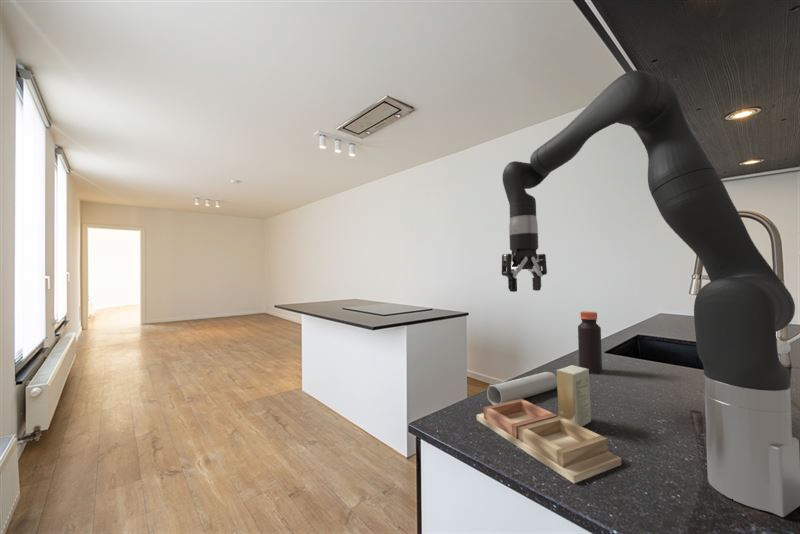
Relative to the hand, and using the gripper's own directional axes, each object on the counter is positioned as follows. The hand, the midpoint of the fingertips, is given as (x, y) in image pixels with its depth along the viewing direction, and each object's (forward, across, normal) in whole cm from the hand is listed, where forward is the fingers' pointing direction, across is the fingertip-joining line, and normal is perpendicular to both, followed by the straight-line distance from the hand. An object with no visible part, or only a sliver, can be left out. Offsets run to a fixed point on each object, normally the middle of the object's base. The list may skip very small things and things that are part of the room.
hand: (525, 291), depth 92 cm
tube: (+28, 0, -2) cm, 28 cm away
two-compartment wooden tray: (+29, -16, -19) cm, 38 cm away
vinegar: (+29, +35, +8) cm, 46 cm away
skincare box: (+30, -3, -17) cm, 34 cm away
